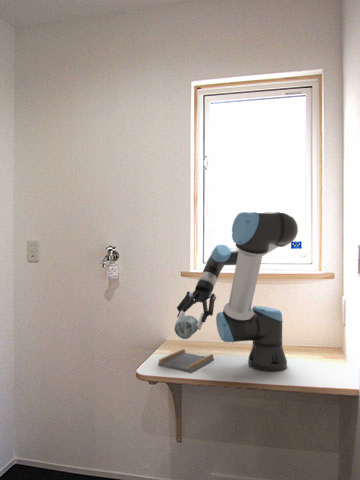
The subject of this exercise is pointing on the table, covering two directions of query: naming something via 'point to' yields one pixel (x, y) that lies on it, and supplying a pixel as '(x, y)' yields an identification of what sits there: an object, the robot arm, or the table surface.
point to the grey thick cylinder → (186, 327)
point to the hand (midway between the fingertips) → (187, 326)
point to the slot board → (185, 361)
